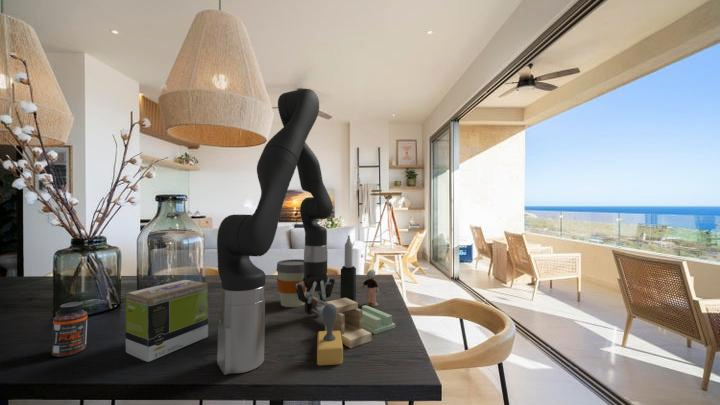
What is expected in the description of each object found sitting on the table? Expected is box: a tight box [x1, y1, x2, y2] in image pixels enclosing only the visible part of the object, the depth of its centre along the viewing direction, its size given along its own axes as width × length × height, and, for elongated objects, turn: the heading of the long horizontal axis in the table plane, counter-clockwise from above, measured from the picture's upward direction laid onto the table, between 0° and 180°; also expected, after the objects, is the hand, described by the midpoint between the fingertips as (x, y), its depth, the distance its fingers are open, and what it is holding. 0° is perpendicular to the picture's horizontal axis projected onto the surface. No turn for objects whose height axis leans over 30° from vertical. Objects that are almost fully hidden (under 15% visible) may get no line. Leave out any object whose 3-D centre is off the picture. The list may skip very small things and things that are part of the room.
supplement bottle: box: [51, 301, 88, 358], centre depth 71 cm, size 6×6×11 cm
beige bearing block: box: [324, 298, 373, 349], centre depth 81 cm, size 7×12×8 cm, turn 39°
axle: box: [311, 296, 343, 317], centre depth 92 cm, size 14×4×4 cm, turn 38°
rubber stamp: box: [316, 304, 344, 366], centre depth 72 cm, size 10×6×12 cm, turn 7°
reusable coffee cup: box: [276, 258, 306, 308], centre depth 110 cm, size 13×13×15 cm
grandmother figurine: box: [362, 269, 380, 307], centre depth 109 cm, size 8×4×13 cm, turn 58°
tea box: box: [124, 279, 209, 363], centre depth 75 cm, size 15×10×15 cm, turn 152°
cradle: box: [361, 304, 397, 335], centre depth 91 cm, size 8×13×4 cm, turn 39°
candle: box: [339, 235, 357, 302], centre depth 110 cm, size 5×5×25 cm
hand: (314, 312), depth 96 cm, fingers closed on axle, 4 cm apart
